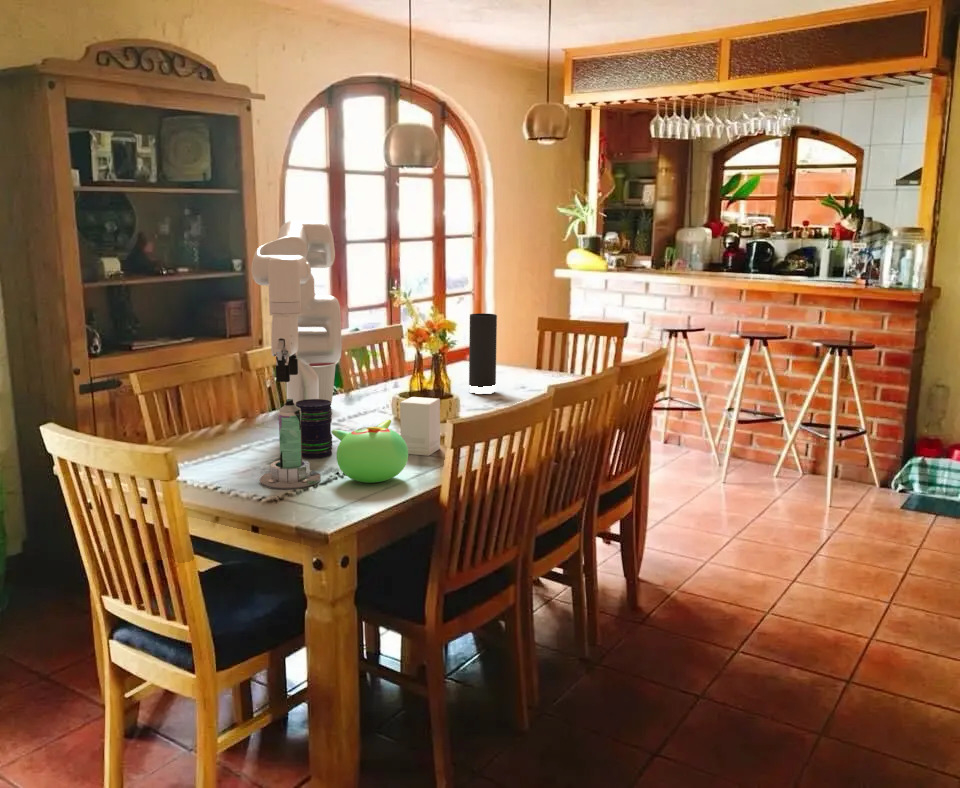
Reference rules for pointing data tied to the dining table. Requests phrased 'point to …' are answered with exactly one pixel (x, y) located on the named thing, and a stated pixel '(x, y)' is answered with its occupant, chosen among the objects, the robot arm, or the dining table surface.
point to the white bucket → (325, 379)
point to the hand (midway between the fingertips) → (287, 378)
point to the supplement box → (420, 425)
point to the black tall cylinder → (482, 349)
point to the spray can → (290, 435)
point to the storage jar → (316, 428)
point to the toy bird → (371, 453)
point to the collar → (290, 476)
